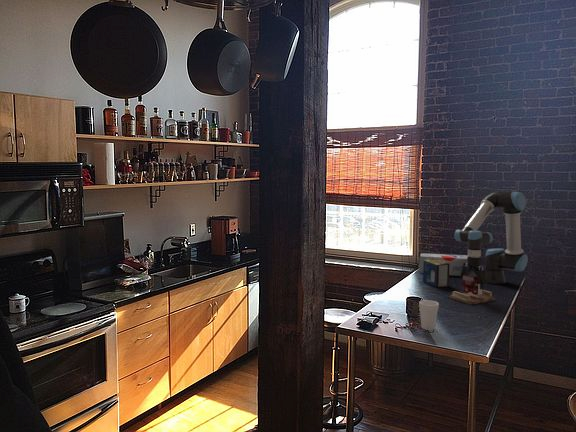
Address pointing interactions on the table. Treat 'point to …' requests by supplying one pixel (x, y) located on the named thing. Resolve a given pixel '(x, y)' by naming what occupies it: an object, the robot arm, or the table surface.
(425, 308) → the foam cup
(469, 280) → the toy fire truck
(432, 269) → the protein box
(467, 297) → the cradle
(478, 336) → the table surface
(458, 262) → the soda pack
